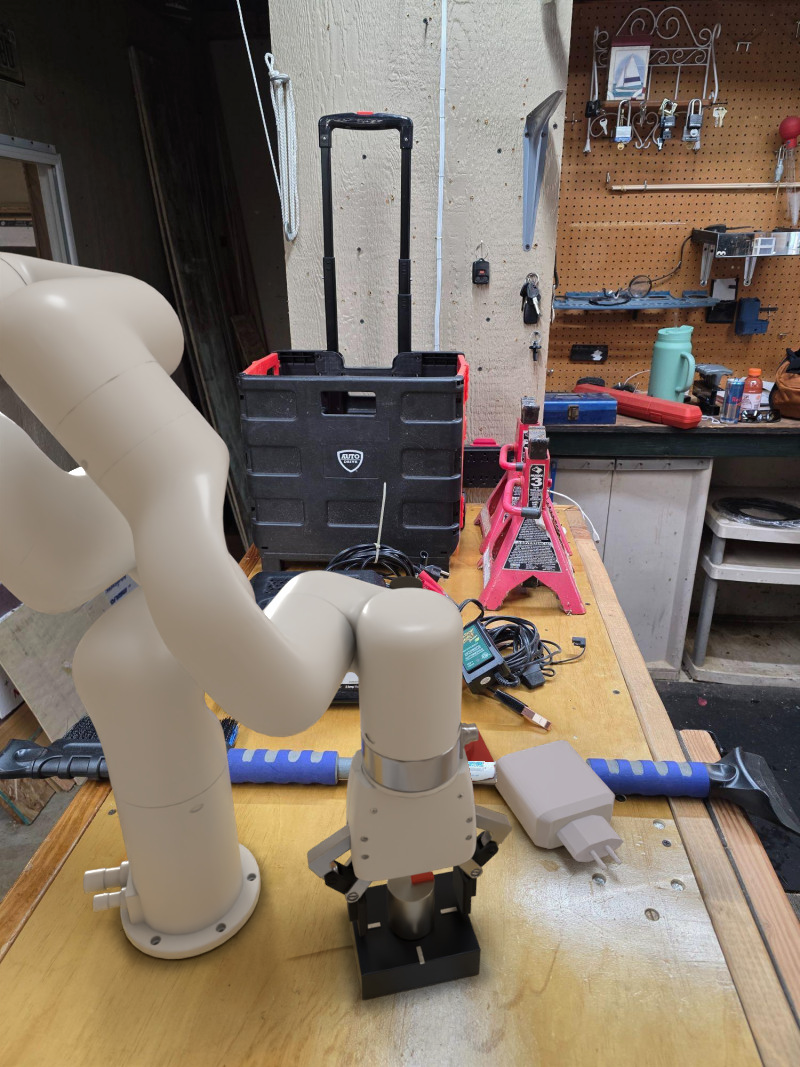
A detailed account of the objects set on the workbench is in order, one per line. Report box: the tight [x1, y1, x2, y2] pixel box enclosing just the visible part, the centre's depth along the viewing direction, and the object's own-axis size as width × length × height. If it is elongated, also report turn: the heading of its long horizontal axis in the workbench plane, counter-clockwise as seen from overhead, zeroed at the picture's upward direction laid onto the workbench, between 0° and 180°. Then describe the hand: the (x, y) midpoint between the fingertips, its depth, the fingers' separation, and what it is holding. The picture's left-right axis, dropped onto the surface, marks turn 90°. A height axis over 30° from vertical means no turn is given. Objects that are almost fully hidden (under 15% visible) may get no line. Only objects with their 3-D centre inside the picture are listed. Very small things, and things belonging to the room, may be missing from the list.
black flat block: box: [347, 870, 482, 1001], centre depth 60 cm, size 10×8×3 cm
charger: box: [494, 739, 624, 871], centre depth 71 cm, size 5×9×15 cm
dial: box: [386, 871, 435, 940], centre depth 58 cm, size 4×4×5 cm
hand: (412, 909), depth 59 cm, fingers open, 8 cm apart
